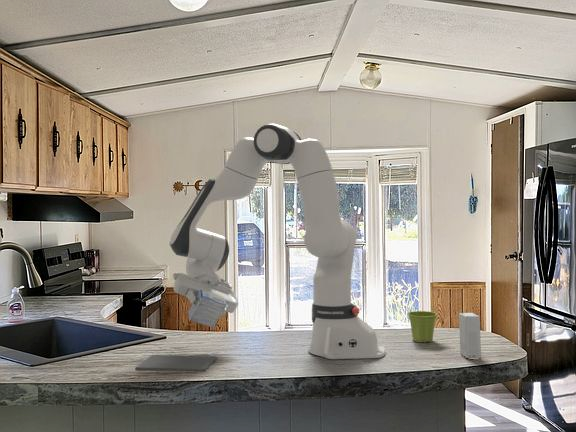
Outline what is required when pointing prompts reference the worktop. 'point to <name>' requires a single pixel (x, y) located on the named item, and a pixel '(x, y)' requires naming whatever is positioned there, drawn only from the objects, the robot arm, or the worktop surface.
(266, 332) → the worktop surface
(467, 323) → the skincare box
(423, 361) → the worktop surface
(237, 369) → the worktop surface
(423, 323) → the plant pot
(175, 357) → the mat
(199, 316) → the medicine box
